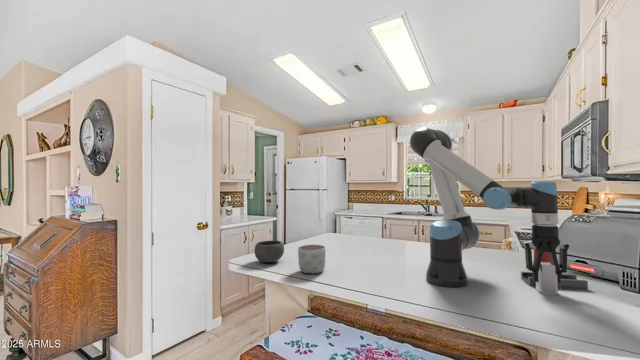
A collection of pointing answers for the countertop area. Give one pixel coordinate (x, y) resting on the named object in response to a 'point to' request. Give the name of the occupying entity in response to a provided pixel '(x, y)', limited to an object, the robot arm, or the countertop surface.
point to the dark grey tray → (565, 281)
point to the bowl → (269, 251)
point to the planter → (311, 258)
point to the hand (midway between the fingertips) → (546, 291)
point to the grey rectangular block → (548, 278)
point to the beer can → (544, 256)
